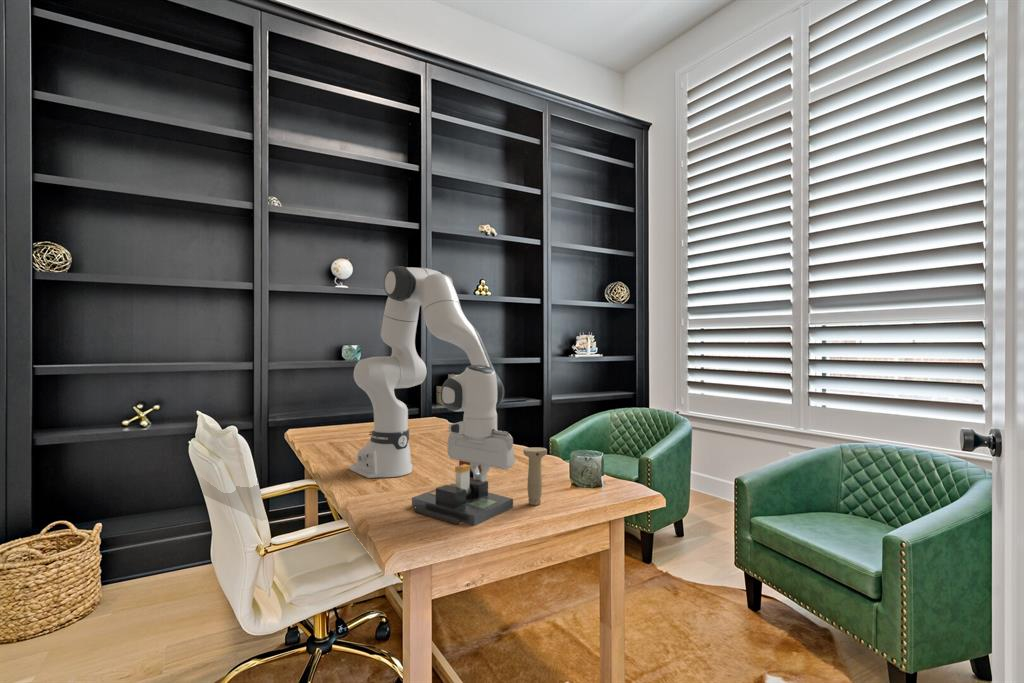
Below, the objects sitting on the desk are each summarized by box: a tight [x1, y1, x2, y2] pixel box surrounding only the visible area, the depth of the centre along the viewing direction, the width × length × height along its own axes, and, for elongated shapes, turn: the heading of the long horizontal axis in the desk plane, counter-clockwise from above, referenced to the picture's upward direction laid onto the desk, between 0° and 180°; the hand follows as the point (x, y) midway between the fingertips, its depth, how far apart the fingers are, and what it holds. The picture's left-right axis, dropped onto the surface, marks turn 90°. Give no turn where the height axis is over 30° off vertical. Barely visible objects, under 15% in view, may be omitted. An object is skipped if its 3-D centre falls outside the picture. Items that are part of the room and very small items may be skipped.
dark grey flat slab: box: [413, 507, 460, 525], centre depth 132 cm, size 15×21×1 cm
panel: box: [411, 477, 514, 526], centre depth 132 cm, size 22×16×6 cm
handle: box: [523, 446, 548, 506], centre depth 135 cm, size 5×6×15 cm
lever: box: [454, 464, 471, 496], centre depth 132 cm, size 2×4×8 cm, turn 144°
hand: (479, 480), depth 128 cm, fingers closed
